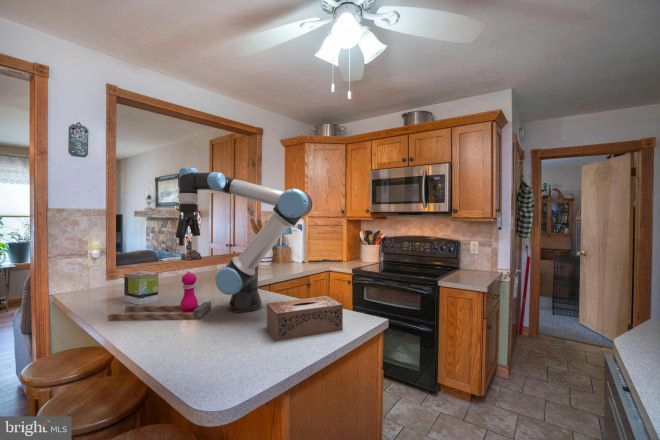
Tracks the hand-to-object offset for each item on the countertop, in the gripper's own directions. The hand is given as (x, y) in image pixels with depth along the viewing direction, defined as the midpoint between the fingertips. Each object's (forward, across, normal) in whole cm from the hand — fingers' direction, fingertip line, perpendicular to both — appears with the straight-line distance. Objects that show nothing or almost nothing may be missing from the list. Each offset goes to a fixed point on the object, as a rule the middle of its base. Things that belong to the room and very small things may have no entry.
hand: (188, 251), depth 139 cm
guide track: (+28, 0, -13) cm, 31 cm away
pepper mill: (+28, 0, 0) cm, 28 cm away
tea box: (+28, -24, -34) cm, 50 cm away
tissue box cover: (+29, +20, +51) cm, 62 cm away
